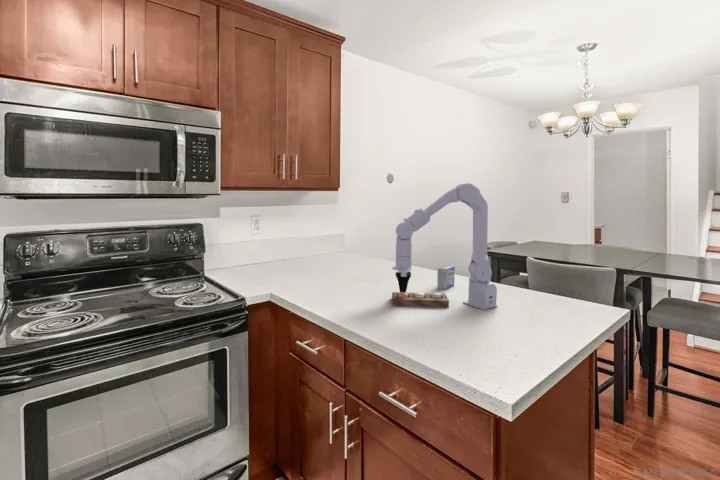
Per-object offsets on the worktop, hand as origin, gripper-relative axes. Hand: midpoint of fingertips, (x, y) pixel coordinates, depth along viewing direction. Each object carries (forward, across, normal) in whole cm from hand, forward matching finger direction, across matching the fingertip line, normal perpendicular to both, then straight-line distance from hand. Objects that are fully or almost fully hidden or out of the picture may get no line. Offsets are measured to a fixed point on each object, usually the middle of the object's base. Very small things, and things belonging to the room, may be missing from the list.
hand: (402, 292), depth 144 cm
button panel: (+4, 0, +6) cm, 7 cm away
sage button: (+4, 0, +12) cm, 13 cm away
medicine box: (+4, -26, +19) cm, 33 cm away
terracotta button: (+4, 0, 0) cm, 4 cm away
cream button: (+4, 0, +6) cm, 7 cm away
